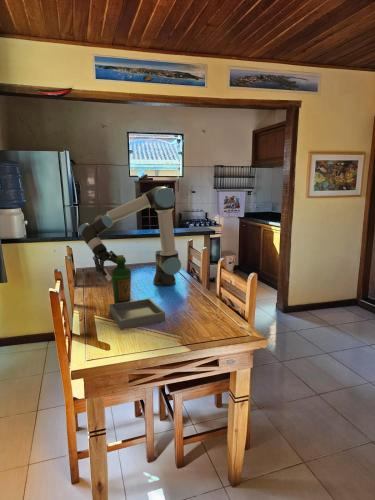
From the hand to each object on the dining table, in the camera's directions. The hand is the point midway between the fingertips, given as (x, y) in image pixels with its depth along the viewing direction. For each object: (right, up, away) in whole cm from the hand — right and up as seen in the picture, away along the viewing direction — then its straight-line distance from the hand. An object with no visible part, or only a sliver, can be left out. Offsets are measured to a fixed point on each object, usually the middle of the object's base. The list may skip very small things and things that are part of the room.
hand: (118, 276), depth 176 cm
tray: (+12, -19, -13) cm, 26 cm away
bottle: (+1, -16, +3) cm, 16 cm away
